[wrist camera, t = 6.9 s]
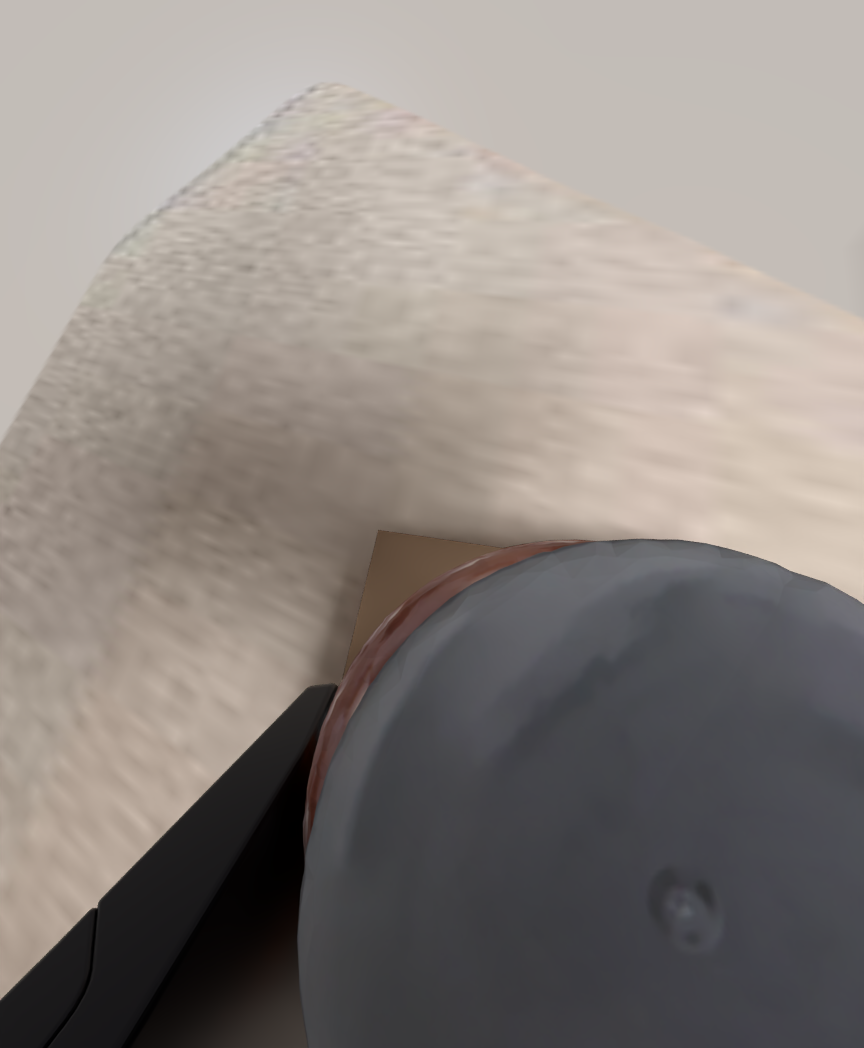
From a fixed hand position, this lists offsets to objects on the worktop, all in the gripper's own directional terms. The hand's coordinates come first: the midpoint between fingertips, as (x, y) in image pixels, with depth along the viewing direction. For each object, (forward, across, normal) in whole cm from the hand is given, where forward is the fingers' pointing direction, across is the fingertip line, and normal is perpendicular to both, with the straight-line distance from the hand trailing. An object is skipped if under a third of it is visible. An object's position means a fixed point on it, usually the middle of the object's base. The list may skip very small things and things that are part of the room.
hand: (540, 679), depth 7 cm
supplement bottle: (+4, 0, +6) cm, 7 cm away
